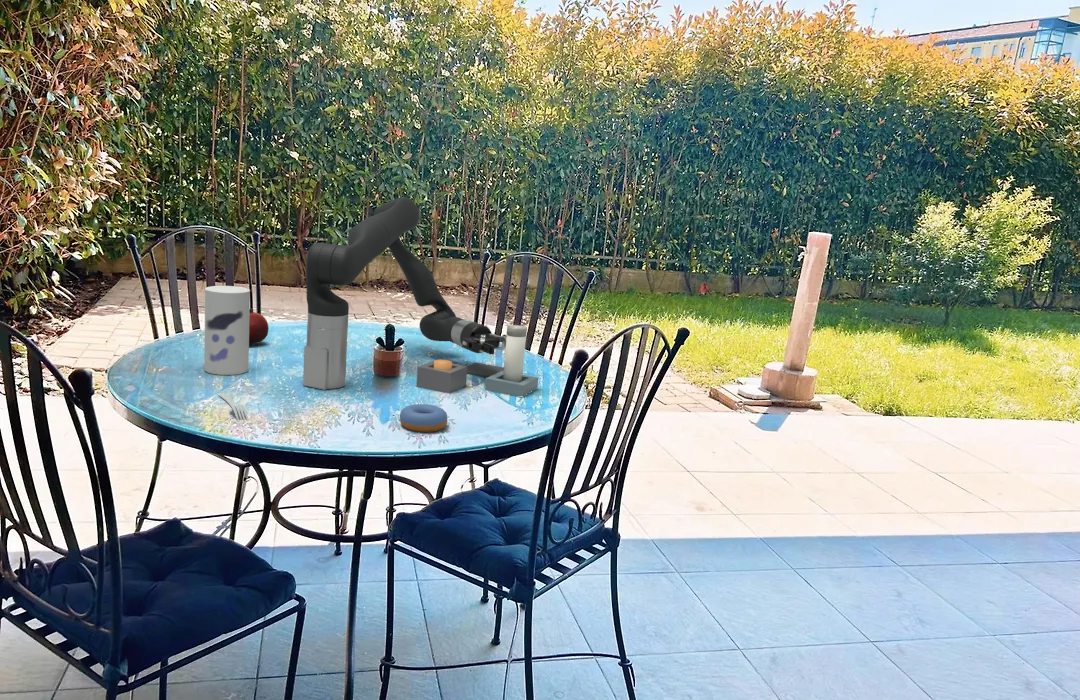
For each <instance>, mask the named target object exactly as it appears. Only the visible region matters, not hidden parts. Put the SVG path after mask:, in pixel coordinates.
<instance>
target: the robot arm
mask: <svg viewBox="0 0 1080 700" xmlns="http://www.w3.org/2000/svg"><path fill="white" fill-rule="evenodd" d="M373 214H374V215H371V216H369V217H367V218H365V219H363V220H361V221H360V222H358V223H357V224H356V225H354V226H353V227H352V228H351V229H350V230H349V232H348V235H347V245H342V244H334V243H328V242H327V243H326V242H315V243H313V244H312V245H311V246H310V247H309V249H308V251H307V255H306V261H305V276H306V277H305V278H306V302H307V321H306V323H307V325H306V326H307V327H306V345H305V346H304V347H303V348H304V349H303V351H304V352H303V376H302V379H303V380H302V385H303V386H305V387H310V388H313V389H319V390H324V391H326V390H330V389H339V388H342V387H344V386H346V379H347V377H346V375H347V355H348V354H347V353H348V352H347V351H348V333H349V313H350V312H349V310H350V305H349V301H348V300H346V299H344V298H342V297H340V296H338V295H337V294H336V293H334V292H333V291H332V290H331V289H330V286H329V285H333V286H334V285H335V286H347V285H350V284H352V283H353V282H354V281H355V280H356V279H357V277H358V276H359V275H360V274H361V273H362V271H363V270H364V269H365V268H366V267H367V266H368V265H369V264H370V263H371V262H372V261H373V260H374V259H375V258H377V257H378V256H380V255H381V254H382V253H383V252H384V251H386V249H388V248H389V250H390V252H391V254H392V256H393V257H394V259H395V261H396V262H397V264H398V266H399V267H400V268H401V270H402V272H403V275H404V277H405V278H406V281H407V283H408V286H409V288H410V290H411V293H412V296H413V297H414V300H415V303H416V304H417V306H418V307H427V306H431V307H433V308H434V309H435V311H433V312H431V313H429V314H426V315H424V316H423V317H421V319H420V321H419V324H418V325H419V330H420V333H421V334H422V335H423V337H424V338H426V339H427V340H430V341H433V342H450V343H452V344H455V345H457V346H458V347H460V348H462V349H465V350H467V351H470V352H472V353H475V354H482V353H486V354H488V355H494V354H495V350H498V351H499V350H500V351H505V348H506V337H507V334H502V335H498V334H495V333H492V331H491V329H490V328H489V327H488V326H486V325H484V324H481V323H478V322H475V321H472V320H468V319H467V320H466V319H464V318H461V317H457V315H456V314H455V312H454V310H453V309H452V308H451V306H450V305H449V304H448V303H447V301H446V300H445V298H444V297H443V295H442V294H441V292H440V290H439V288H438V285H437V283H436V280H435V279H434V275H433V273H432V272H431V269H429V268H428V266H427V265H426V264H425V263H424V262H423V261H421V260H420V259H419V258H417V257H416V256H415V255H414V254H412V253H411V251H410V250H408V249H407V247H406V246H405V245H404V243H403V241H402V240H401V238H400V236H402V235H403V234H405V233H406V232H409V231H411V230H413V229H415V228H416V227H417V226H418V224H419V221H420V211H419V208H418V206H417V205H416V203H415V202H414V201H413V200H412V199H410V198H408V197H405V196H401V197H397V198H395V199H392V200H390V201H388V202H385V203H383V204H381V205H379V206H377V207H376V208H375V210H374V213H373ZM500 344H501V346H500Z"/></svg>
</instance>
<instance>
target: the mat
mask: <svg viewBox="0 0 1080 700" xmlns="http://www.w3.org/2000/svg"><path fill="white" fill-rule="evenodd" d="M466 366H467V375H470V376H471V375H472V376H477V377H483V378H488V377H490V376H492V375H494V374H496V373H499V372H501V371H504V366H497V365H493V364H488V363H482V362H473V363H471V364H468V365H466Z"/></svg>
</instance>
